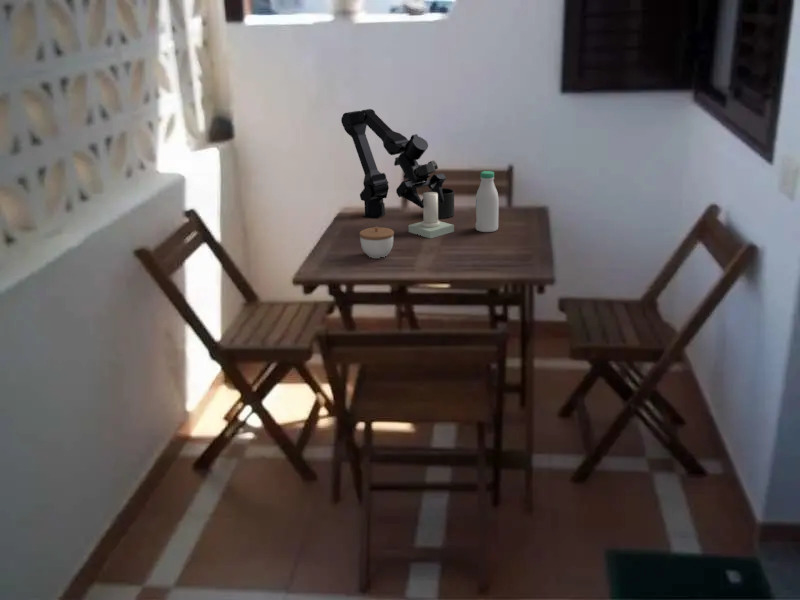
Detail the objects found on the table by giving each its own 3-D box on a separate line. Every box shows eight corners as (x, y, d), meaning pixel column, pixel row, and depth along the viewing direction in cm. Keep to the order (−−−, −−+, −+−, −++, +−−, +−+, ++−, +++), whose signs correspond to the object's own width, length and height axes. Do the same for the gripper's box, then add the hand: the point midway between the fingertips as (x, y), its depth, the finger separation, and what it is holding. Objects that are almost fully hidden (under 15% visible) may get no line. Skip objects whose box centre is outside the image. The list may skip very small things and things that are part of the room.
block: (408, 232, 299) (408, 225, 299) (432, 225, 306) (432, 219, 305) (430, 238, 292) (430, 231, 291) (453, 231, 298) (453, 225, 297)
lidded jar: (355, 253, 278) (354, 225, 275) (386, 248, 282) (385, 220, 279) (367, 262, 269) (366, 233, 266) (399, 257, 273) (398, 228, 270)
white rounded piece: (422, 228, 295) (421, 196, 291) (421, 222, 301) (420, 191, 297) (440, 227, 295) (440, 195, 291) (439, 222, 301) (439, 191, 297)
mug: (424, 211, 325) (423, 187, 321) (456, 212, 322) (456, 188, 319) (419, 218, 316) (418, 193, 313) (452, 219, 313) (451, 194, 310)
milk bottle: (502, 229, 299) (503, 172, 292) (485, 233, 295) (485, 175, 288) (488, 225, 305) (488, 168, 298) (471, 229, 301) (471, 171, 294)
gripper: (400, 158, 287) (423, 196, 283) (442, 149, 298) (464, 186, 294) (386, 177, 295) (408, 215, 291) (427, 169, 306) (448, 205, 302)
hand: (433, 205), depth 294 cm, fingers open, 9 cm apart
